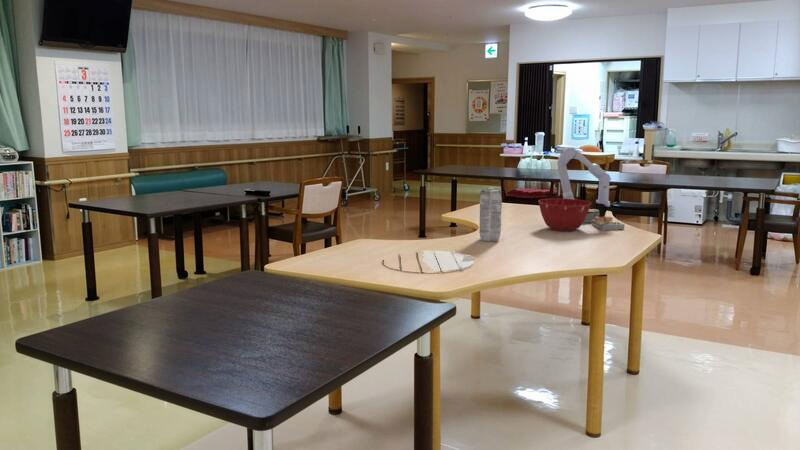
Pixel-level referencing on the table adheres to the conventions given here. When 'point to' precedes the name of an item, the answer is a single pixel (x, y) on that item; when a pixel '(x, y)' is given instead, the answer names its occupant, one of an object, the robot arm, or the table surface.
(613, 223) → the board
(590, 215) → the coffee box
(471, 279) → the table surface
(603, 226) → the tray
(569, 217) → the mixing bowl
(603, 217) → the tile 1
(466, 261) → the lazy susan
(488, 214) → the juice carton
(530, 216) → the table surface
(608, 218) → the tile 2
